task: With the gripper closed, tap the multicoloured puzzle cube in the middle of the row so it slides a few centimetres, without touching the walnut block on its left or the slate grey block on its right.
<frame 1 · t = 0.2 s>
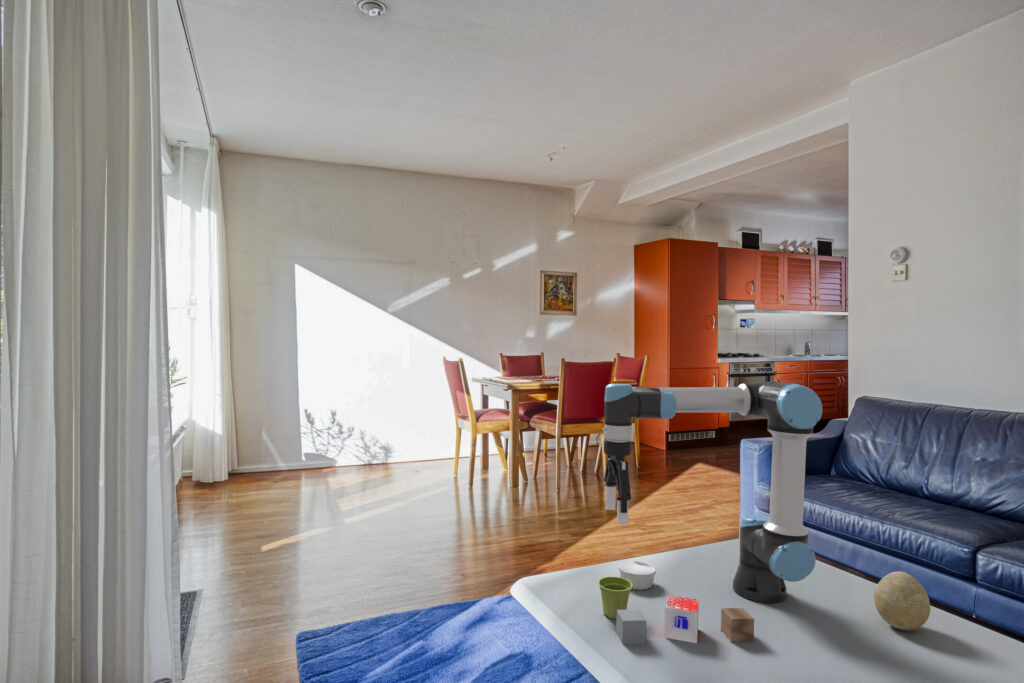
hand: (616, 516, 165), 27 cm above the table, tool pointing down, fingers open, 13 cm apart
puzzle cube: (681, 634, 156), on the table
ramekin: (636, 585, 186), on the table
slate grey block: (630, 638, 153), on the table
walnut block: (737, 636, 155), on the table
plant pot: (614, 615, 166), on the table
fossilized egg: (900, 628, 161), on the table
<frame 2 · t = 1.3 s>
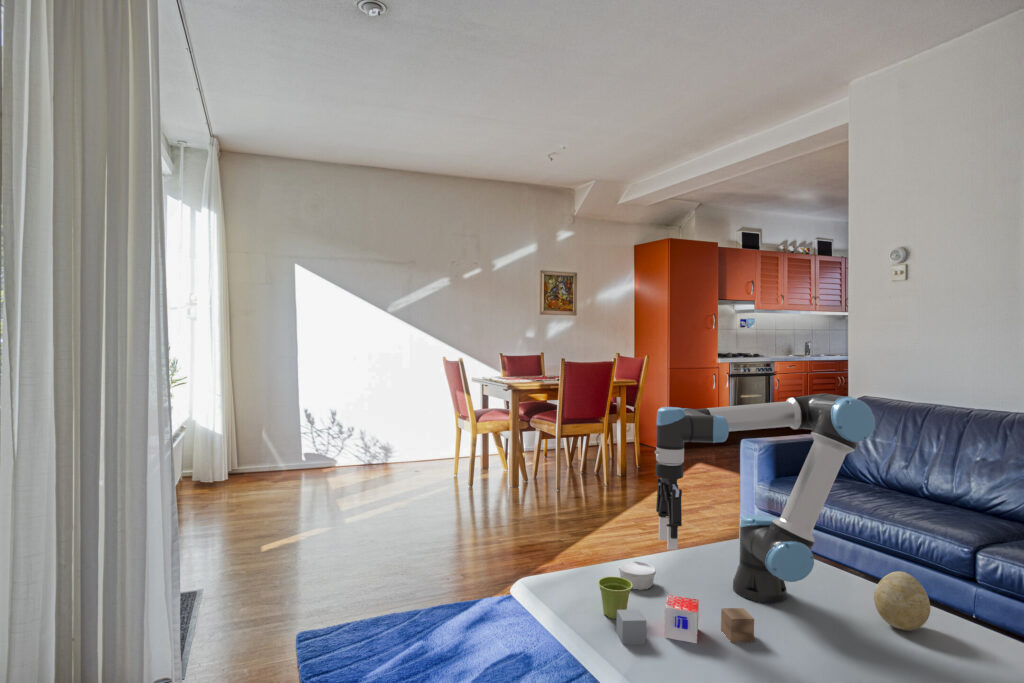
hand: (667, 544, 168), 19 cm above the table, tool pointing down, fingers open, 7 cm apart
nothing on the table moved.
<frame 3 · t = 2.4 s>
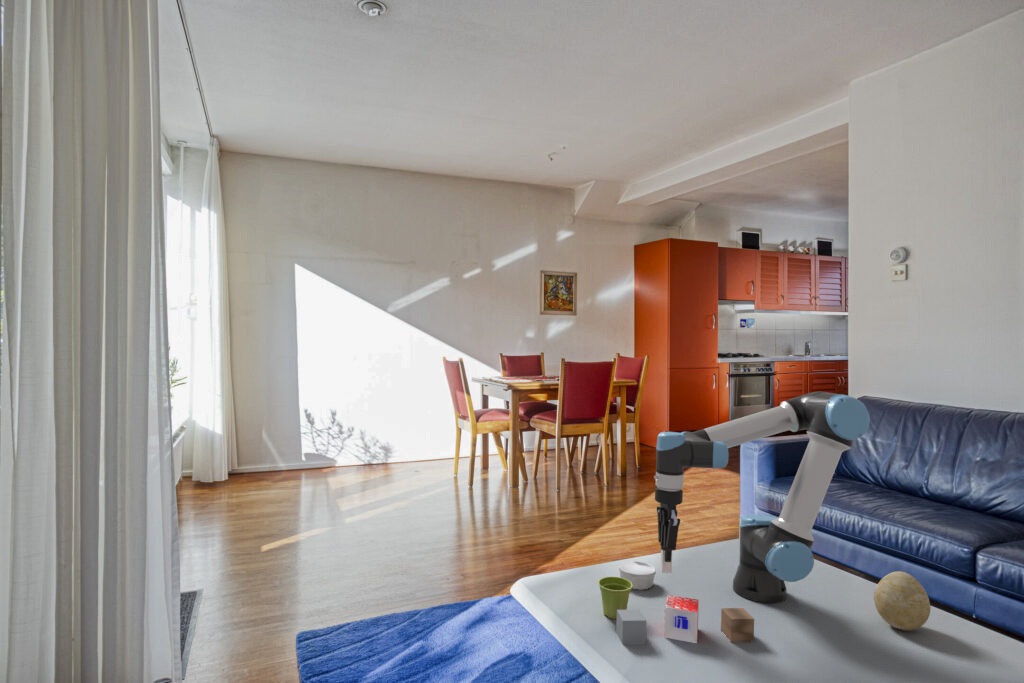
hand: (665, 571, 168), 11 cm above the table, tool pointing down, fingers closed
nothing on the table moved.
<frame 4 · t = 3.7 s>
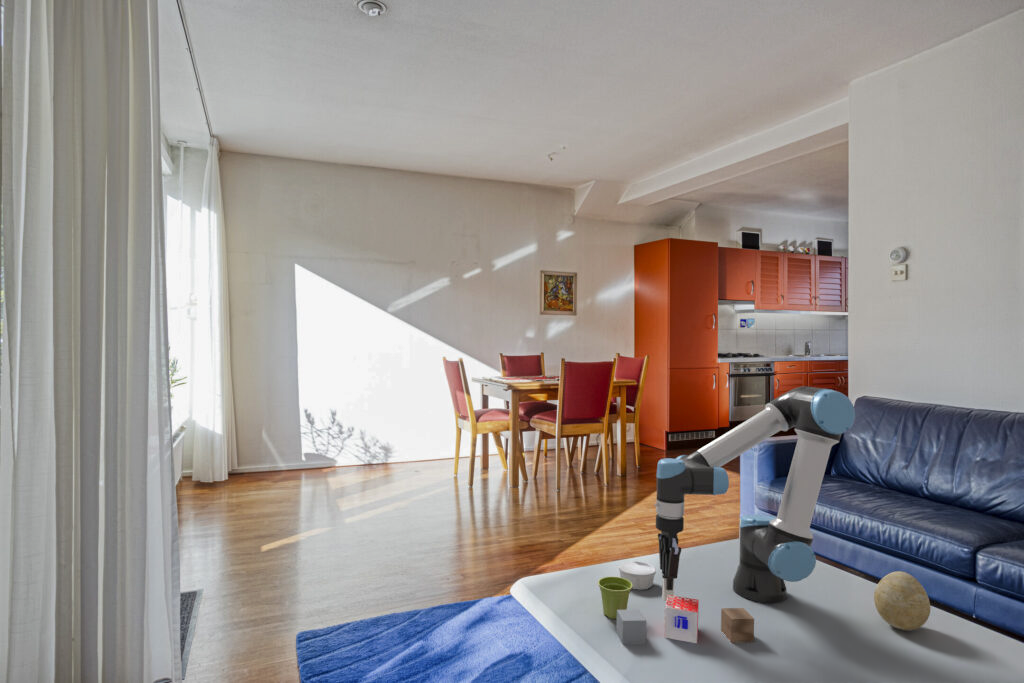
hand: (667, 599, 167), 4 cm above the table, tool pointing down, fingers closed
nothing on the table moved.
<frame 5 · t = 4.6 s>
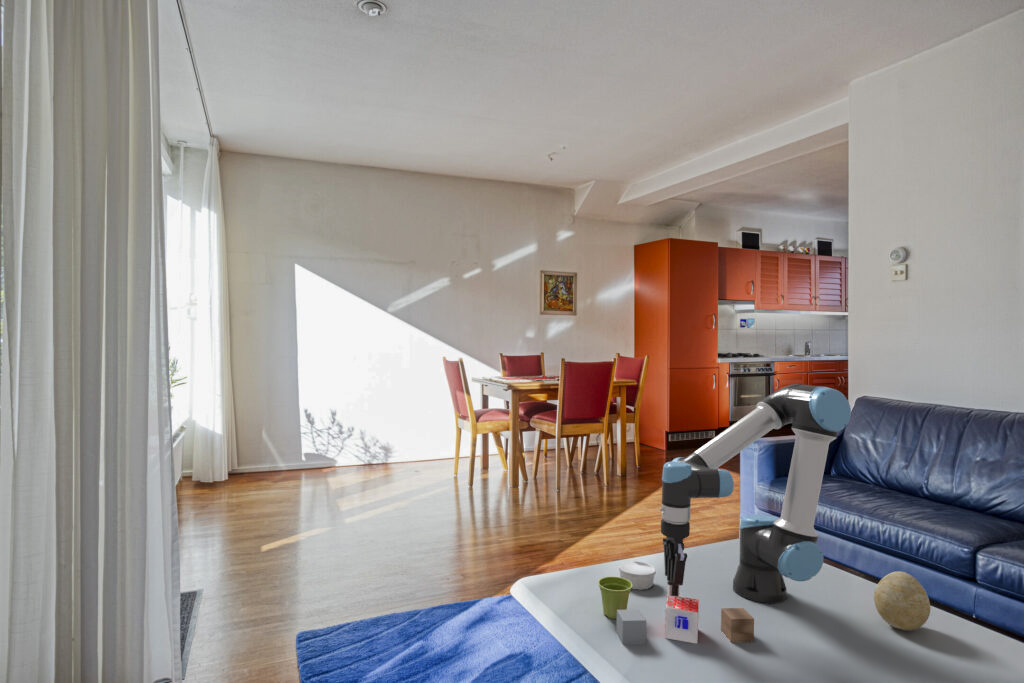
hand: (672, 606, 162), 4 cm above the table, tool pointing down, fingers closed
puzzle cube: (681, 634, 155), on the table, touching gripper
everything else where it was.
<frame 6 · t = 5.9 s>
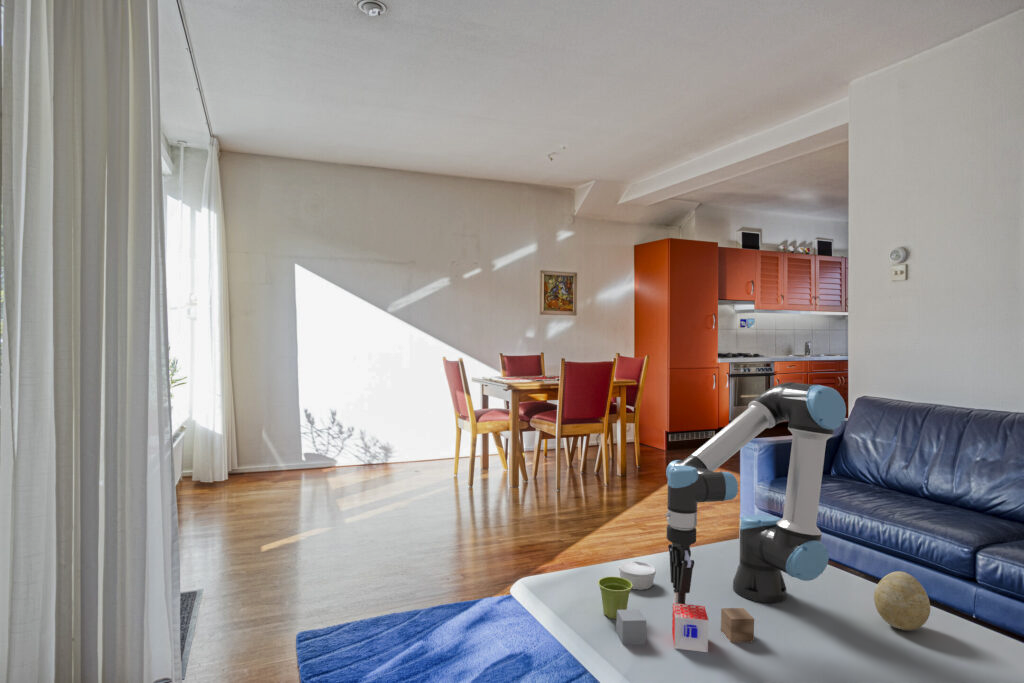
hand: (679, 615, 157), 4 cm above the table, tool pointing down, fingers closed
puzzle cube: (689, 643, 151), on the table, touching gripper
everything else where it was.
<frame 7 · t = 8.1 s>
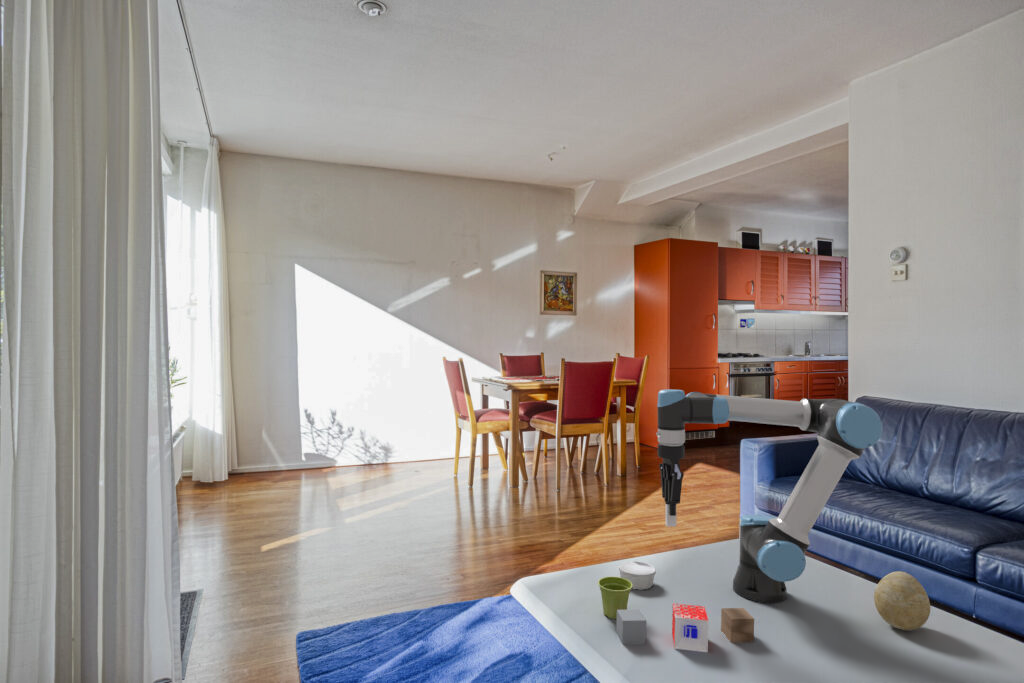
hand: (670, 525, 171), 23 cm above the table, tool pointing down, fingers closed
puzzle cube: (689, 643, 151), on the table
everything else where it was.
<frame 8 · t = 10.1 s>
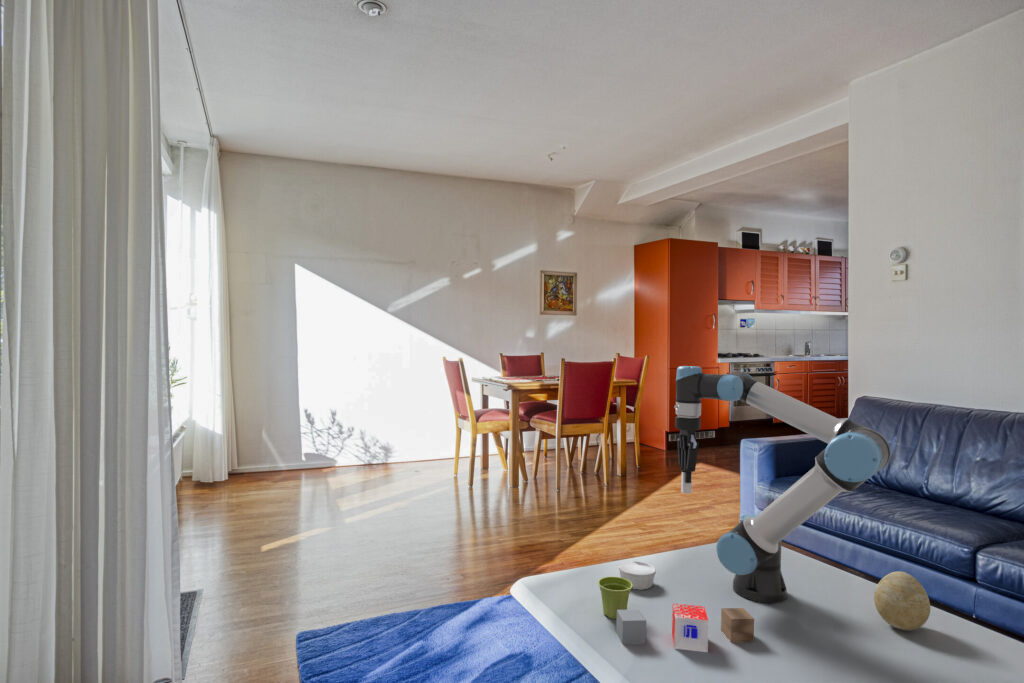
hand: (686, 492, 184), 29 cm above the table, tool pointing down, fingers closed
nothing on the table moved.
at the end: puzzle cube moved 4.7 cm from its start; walnut block moved 0.1 cm from its start; slate grey block moved 0.1 cm from its start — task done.
